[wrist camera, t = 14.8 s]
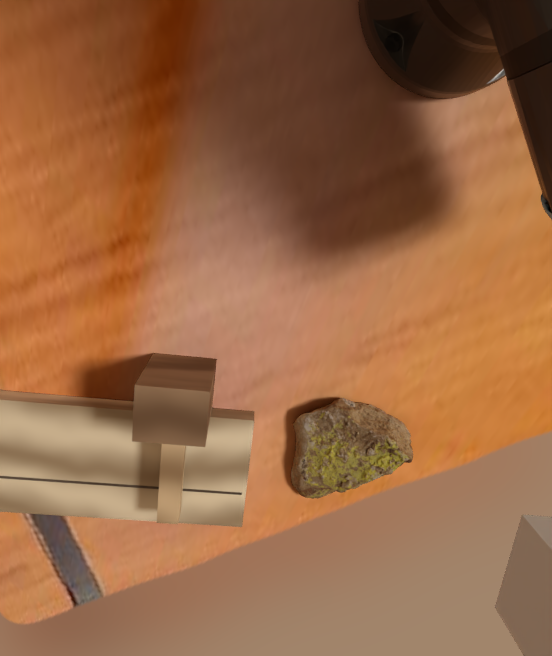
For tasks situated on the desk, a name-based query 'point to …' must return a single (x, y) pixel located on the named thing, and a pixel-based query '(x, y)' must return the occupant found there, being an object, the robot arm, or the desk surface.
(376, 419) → the rock
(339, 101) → the desk surface
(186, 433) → the brown blocky t-shaped piece
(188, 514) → the board
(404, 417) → the desk surface
